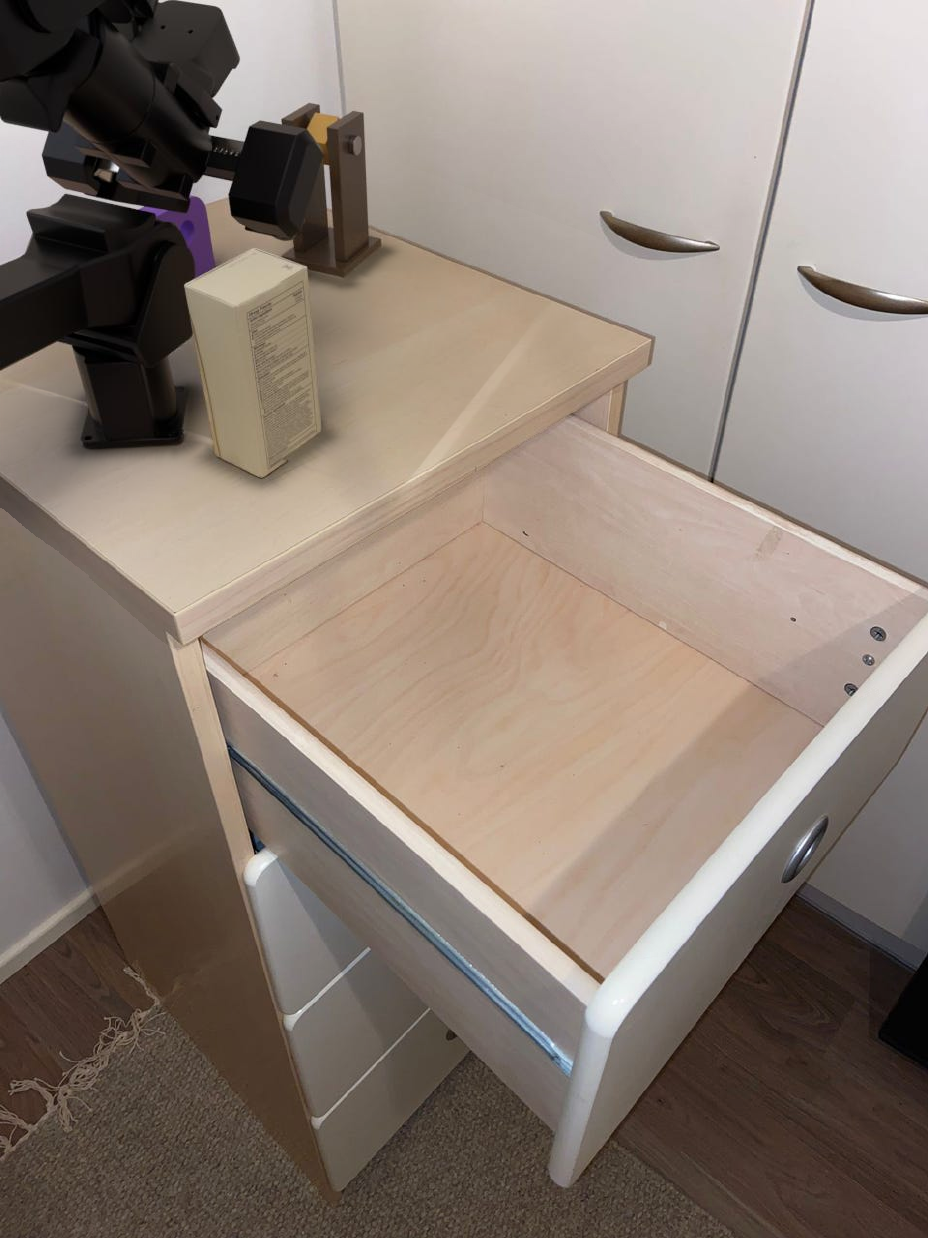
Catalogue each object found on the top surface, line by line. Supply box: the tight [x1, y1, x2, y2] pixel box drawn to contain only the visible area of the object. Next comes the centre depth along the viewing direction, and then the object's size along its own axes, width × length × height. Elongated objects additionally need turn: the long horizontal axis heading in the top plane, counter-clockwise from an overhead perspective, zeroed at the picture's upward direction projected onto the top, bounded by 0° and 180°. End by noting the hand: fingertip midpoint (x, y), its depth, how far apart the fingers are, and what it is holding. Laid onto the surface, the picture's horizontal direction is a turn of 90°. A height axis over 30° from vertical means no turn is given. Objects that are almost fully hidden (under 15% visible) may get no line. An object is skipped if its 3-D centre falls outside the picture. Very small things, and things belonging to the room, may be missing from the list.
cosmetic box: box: [184, 247, 322, 479], centre depth 61 cm, size 6×4×12 cm
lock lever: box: [273, 112, 341, 242], centre depth 77 cm, size 11×3×3 cm, turn 157°
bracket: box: [137, 194, 216, 278], centre depth 80 cm, size 12×7×7 cm, turn 65°
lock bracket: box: [280, 102, 382, 278], centre depth 81 cm, size 7×6×12 cm
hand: (240, 218), depth 71 cm, fingers open, 9 cm apart
